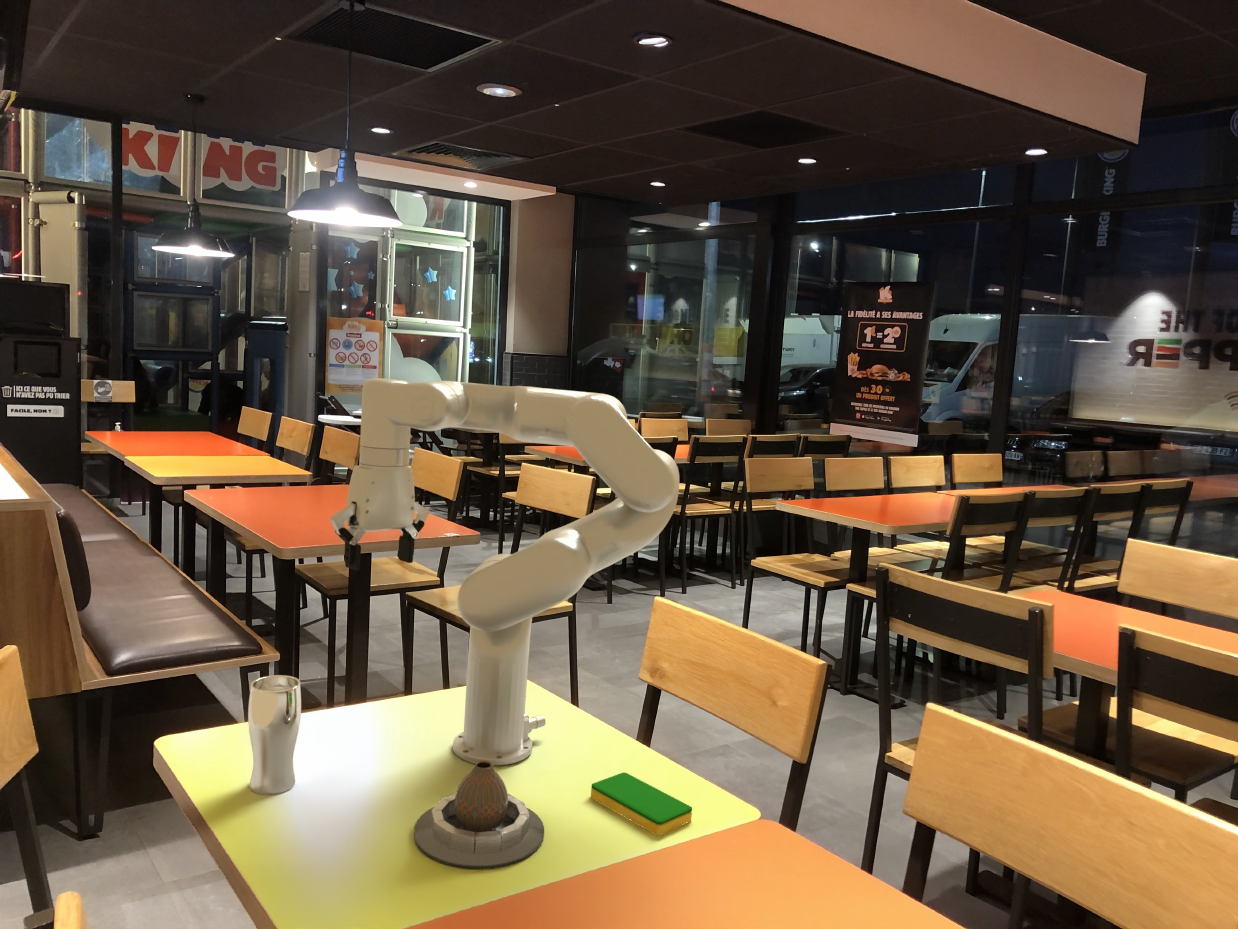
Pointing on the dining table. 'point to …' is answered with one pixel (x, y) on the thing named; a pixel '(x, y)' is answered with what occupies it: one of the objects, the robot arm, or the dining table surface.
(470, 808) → the vase
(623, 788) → the dish sponge
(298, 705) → the beer glass
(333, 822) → the dining table surface
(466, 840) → the ring seat
